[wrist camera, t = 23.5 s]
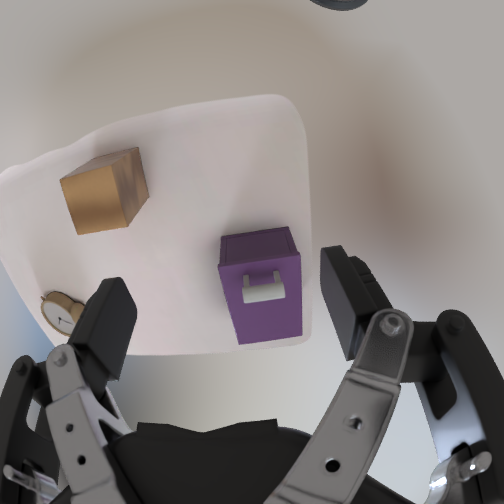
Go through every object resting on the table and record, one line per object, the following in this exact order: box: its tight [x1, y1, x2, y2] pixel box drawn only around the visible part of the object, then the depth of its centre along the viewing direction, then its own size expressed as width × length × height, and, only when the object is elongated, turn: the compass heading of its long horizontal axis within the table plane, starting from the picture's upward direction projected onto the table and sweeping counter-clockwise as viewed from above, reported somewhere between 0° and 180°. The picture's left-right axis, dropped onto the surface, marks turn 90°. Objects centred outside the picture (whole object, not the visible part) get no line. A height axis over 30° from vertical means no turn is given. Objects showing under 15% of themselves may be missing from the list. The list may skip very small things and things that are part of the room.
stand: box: [60, 147, 149, 235], centre depth 33 cm, size 8×8×10 cm
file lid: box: [218, 252, 302, 345], centre depth 38 cm, size 17×11×5 cm, turn 8°
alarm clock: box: [41, 292, 84, 337], centre depth 50 cm, size 11×5×15 cm
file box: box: [219, 227, 298, 264], centre depth 44 cm, size 16×11×8 cm
